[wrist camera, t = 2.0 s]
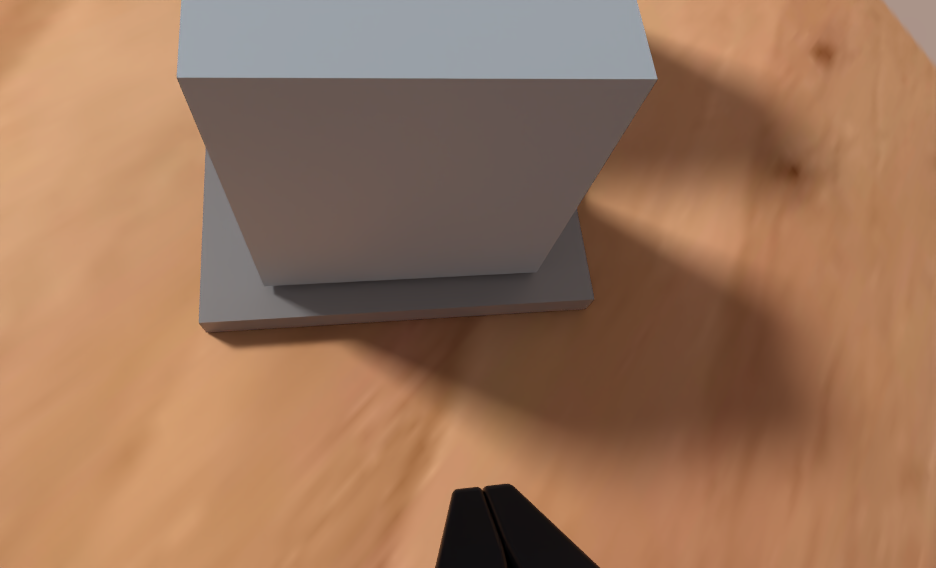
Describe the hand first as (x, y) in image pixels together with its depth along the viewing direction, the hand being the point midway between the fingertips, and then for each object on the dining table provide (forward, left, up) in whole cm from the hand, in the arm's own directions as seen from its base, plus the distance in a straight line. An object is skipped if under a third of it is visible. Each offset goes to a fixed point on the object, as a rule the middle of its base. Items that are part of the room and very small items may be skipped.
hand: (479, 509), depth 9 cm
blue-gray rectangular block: (+9, -6, -10) cm, 14 cm away
